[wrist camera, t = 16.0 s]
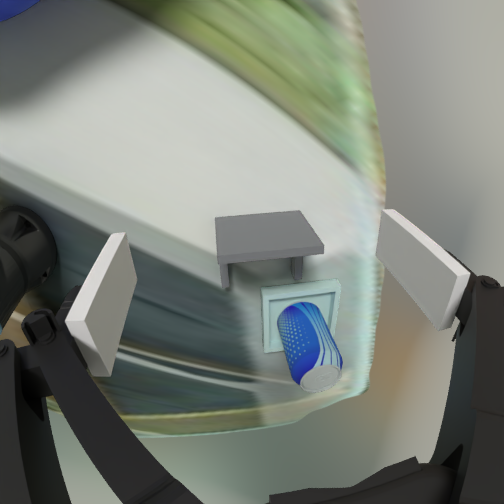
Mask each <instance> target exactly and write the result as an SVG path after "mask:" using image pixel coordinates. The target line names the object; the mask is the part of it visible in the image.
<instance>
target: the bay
mask: <svg viewBox="0 0 504 504" xmlns="http://www.w3.org/2000/svg"><path fill="white" fill-rule="evenodd" d="M215 226H216V244H217V259H218V264H220V273H221V282H222V288H225V287H229V277H228V266H227V264H228V263H238V262H248V261H258V260H268V259H278V258H288V257H292V268H291V272H292V275H293V277H294V279H295V280H299V279H302V263H303V256H308V255H317V254H324V244H323V243H322V241H321V240H320V238H319V237H318V236H317V234H316V233H315V231H314V230H313V228H312V227H311V226H310V224H309V223H308V221H307V220H306V219H305V217H304V216H303V214H302V213H301V211H287V212H274V213H262V214H250V215H239V216H228V217H217V218H215Z"/></svg>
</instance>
